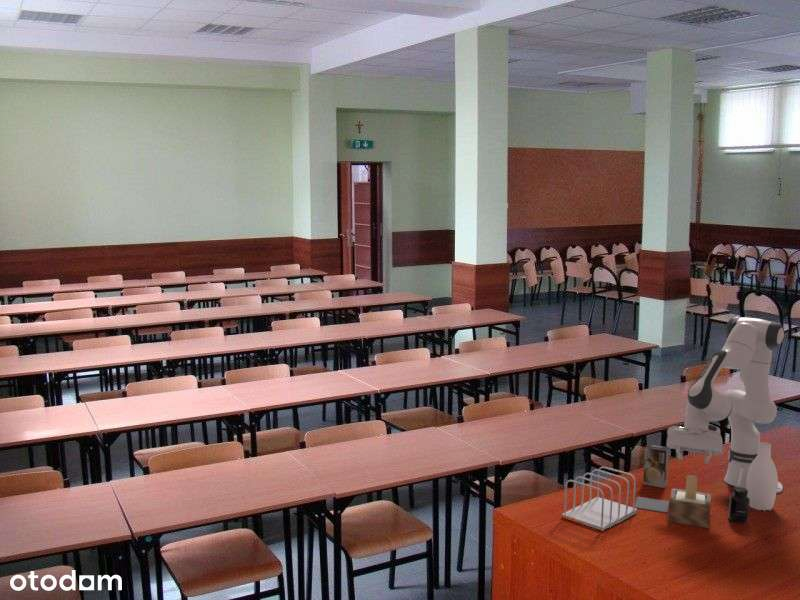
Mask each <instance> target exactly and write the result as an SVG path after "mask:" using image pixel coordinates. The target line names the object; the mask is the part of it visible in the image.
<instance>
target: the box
mask: <svg viewBox="0 0 800 600" xmlns="http://www.w3.org/2000/svg"><path fill="white" fill-rule="evenodd" d="M677 491H682V492H685V491H686V489H680V488H674V487H671V491H670V496H669V497H670V498H669V506H668V517H667V519H668V520H667V522H670V523H675V524H683V525H688V526H694V527H701V528H707V529H709V528H710V515H711V502H712V501H711V499H712V494H711V493H708V492H707V493H706V492H705V493H704V492H699V491H696V494H702V495H705V504H704V505H703V504H697V503H691V502H684V501H678V500H676V495H677Z"/></svg>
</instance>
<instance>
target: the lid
mask: <svg viewBox="0 0 800 600" xmlns="http://www.w3.org/2000/svg"><path fill="white" fill-rule="evenodd" d="M697 485H698V476H696V475H693V474H688V475H686V479H685V490H686V491H685V492H682V491H677V495H676V500H678V501H684V502H691V503H697V504H703V505H704V504H705V495H702V494H696V492H697V489H698V487H697Z"/></svg>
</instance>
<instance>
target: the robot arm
mask: <svg viewBox="0 0 800 600" xmlns="http://www.w3.org/2000/svg"><path fill="white" fill-rule="evenodd" d="M784 329H785V328H784V326H782V324H781V323H779V322H777V321H776V322H775V321H770V320H768V319H767V320H766V319H761V318H759V317H757V318H756V317H755V318H754V317H744V316H743V317H742V316H733V317H731V318H730V319H729V320H728V321H727V323H726V326H725V335H726V336H727V338H726V340H725V343H724V344H723V346H722V348H721V349H718V350H716V351H714V352H713V354H712V355H711V356H710V357H709V360H708V361H707V362H706V364H705V366H704V368H703V369H702V371H701V372H700V375H699V376H698V377H697V379H696V380H695V381H694V383H693V384H692V385H691V386H690V387H689V389H688V392H687V403H686V406H685V415H686V416H685V418H684V425H683V427H682V426H674V425H673V426H670V427H668V429H667V431H666V433H667V440H666V447H668V448H669V449H672V450H675V453H676V454H677V460H683V453H681V451H687V452H692V453H699V454H700V453H701V454H707V456H705V457H704V462H703V463H704V464H709V460H710V459H711V458H712V457H713V456H722V454H723V450H724V449H723V448H724V444H723V438H722V435H721V428H720V427H718V426H715V425H713V424H711V423H710V422H720V421H724V420H726V419H728V421H729V425H730V430H731V432H730V433H731V436H730V437H731V439H730V448H729V450H728V466H727V470H726V474H725V477H724V479H723V480H724V482H725V483H726V484H728V485H730V486H732V487H734V488H735V487H742V488H745V489H746V483H747V474H748V470H749V468H750V465H751V463H752V461H753V460H754V459H755V458H756V456H757V455H758V449H759V442H761V434H760V431H759V430H758V429H757V427H756V425H755V423H757V424H765V425H766V424H771V423H772V422H773V421H774V420H775V418H776V417H777V413H778V408H777V405H776V404H775V402H774V401H773V399H772V396H771V394H770V393H771V392H770V388H769V375H770V370H771V363H772V357H773V350H774V349H775V348H777V347H779V346H780V345H781V344H782V343H783V340H784V336H785V331H784ZM724 368H725V369H730V370H739V375H738V376H739V379H740V381H741V382H742V384H743V386H744V389H745V390H742V389H727V390H726V391H725V392H723V393H720V392H719V391H718V390H716V389H715V388H714V381H716V378H718V377H717V376H718V375H719V373H720V372H721V370H722V369H724ZM783 487H784V486H783V484H782V483H781V482H780V481H778V485H777V492H776V494H780V493H781V492H783Z"/></svg>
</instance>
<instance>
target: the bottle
mask: <svg viewBox="0 0 800 600" xmlns="http://www.w3.org/2000/svg"><path fill="white" fill-rule="evenodd" d="M771 452H772V444H771V443H770V442H766V441H760V442H759V449H758V455H757V456H756V458H755V459H754V460H753V461H752V463H751V465H750V468H749V470H748V474H747V483H746V489H747V490H748V495H747V497H749V499H750V507H749V508H751V509H753V508H754V509H753V510H756V509H757V511H761V510H763V511H762V512H767V511H766V510H769V511H772V510H773V508H774V504H775V501H776V499H777V493H776V492H777V485H778V482H779V478H778V477H779V476H778V471H777V468H776V464H775V462H774V461H773V459H772V456H771V454H772V453H771Z"/></svg>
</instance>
